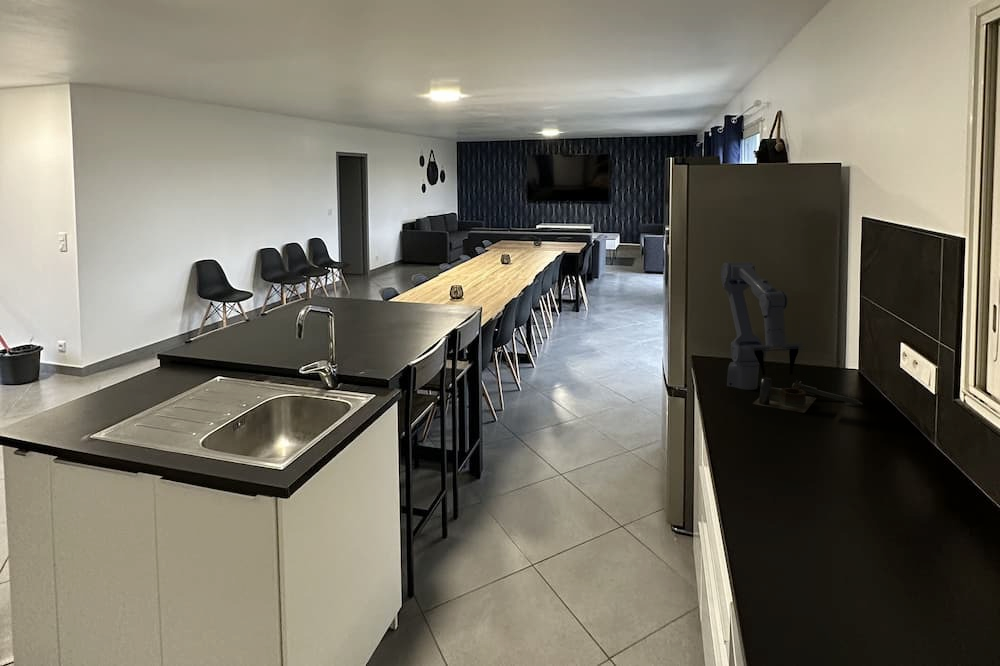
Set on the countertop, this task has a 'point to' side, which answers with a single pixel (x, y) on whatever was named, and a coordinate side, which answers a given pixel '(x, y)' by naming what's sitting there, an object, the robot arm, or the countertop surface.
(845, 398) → the caliper
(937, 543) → the countertop surface
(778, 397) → the hinge base
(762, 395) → the steel pin
